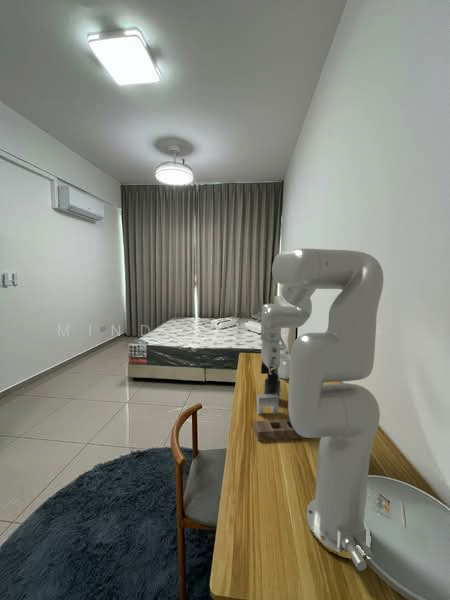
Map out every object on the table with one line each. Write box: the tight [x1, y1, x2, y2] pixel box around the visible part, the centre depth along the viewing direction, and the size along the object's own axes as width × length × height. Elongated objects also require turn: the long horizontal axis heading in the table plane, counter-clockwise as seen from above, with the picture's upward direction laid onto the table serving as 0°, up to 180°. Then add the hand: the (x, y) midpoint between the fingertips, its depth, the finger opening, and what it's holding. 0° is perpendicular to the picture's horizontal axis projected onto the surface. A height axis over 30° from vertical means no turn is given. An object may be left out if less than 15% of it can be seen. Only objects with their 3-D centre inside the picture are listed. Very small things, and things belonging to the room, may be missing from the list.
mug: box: [277, 353, 290, 380], centre depth 131 cm, size 12×9×11 cm
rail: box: [253, 419, 308, 441], centre depth 84 cm, size 20×6×3 cm, turn 97°
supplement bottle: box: [263, 373, 281, 401], centre depth 107 cm, size 7×7×12 cm
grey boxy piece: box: [256, 393, 280, 416], centre depth 97 cm, size 8×3×7 cm, turn 97°
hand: (268, 378), depth 96 cm, fingers open, 9 cm apart
